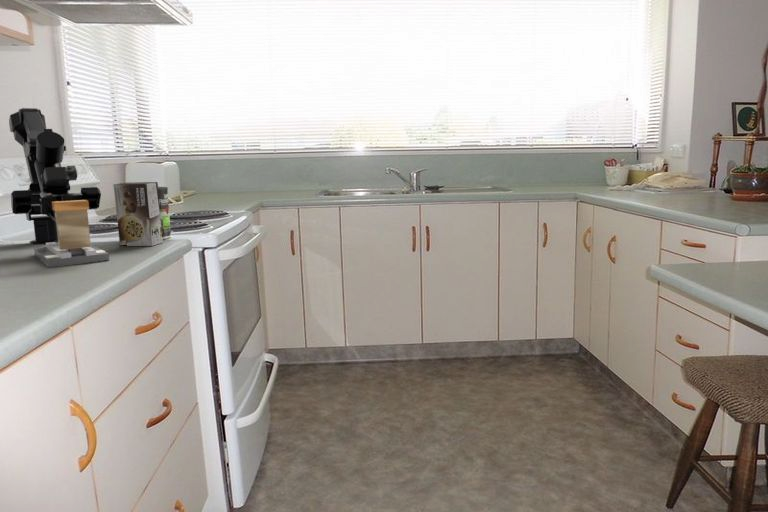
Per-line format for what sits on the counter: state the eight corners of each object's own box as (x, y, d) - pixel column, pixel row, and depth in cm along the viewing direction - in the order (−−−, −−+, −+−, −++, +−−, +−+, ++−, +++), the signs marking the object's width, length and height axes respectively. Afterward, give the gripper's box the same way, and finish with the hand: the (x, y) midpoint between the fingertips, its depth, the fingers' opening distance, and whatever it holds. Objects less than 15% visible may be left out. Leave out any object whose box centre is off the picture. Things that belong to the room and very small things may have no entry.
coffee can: (176, 235, 172) (173, 186, 170) (163, 240, 162) (159, 188, 159) (141, 235, 172) (137, 186, 170) (125, 241, 162) (120, 189, 160)
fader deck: (34, 254, 142) (33, 244, 142) (89, 249, 149) (88, 239, 149) (48, 267, 127) (47, 255, 126) (109, 260, 134) (108, 249, 133)
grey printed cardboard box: (163, 242, 159) (159, 181, 156) (152, 246, 153) (147, 183, 150) (131, 242, 160) (125, 181, 157) (118, 246, 154) (112, 183, 151)
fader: (57, 253, 132) (51, 201, 130) (90, 250, 136) (84, 199, 134) (60, 255, 129) (54, 202, 127) (93, 252, 133) (88, 200, 131)
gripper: (6, 155, 136) (18, 207, 129) (95, 153, 147) (110, 202, 140) (6, 187, 143) (18, 239, 137) (91, 184, 154) (105, 231, 148)
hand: (64, 227), depth 140 cm, fingers closed
